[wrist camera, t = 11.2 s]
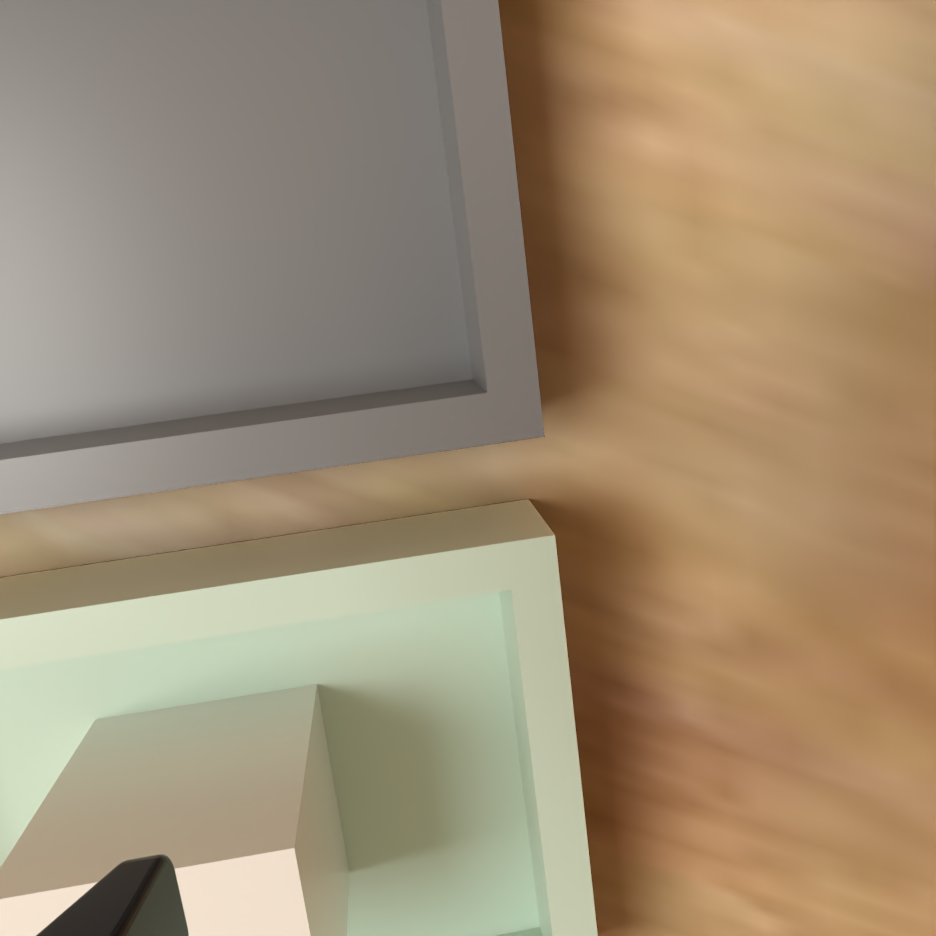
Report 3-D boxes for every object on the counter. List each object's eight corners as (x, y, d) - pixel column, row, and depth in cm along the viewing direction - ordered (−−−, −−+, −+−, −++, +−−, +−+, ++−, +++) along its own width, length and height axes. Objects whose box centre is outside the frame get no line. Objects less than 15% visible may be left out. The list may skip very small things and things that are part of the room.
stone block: (317, 684, 20) (294, 848, 14) (349, 872, 21) (340, 1097, 15) (95, 719, 20) (-23, 902, 14) (140, 909, 21) (48, 1154, 15)
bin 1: (451, -183, 17) (468, -280, 14) (519, 414, 20) (544, 437, 17) (-413, -110, 16) (-590, -199, 13) (-220, 518, 18) (-331, 561, 16)
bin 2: (528, 498, 20) (555, 534, 17) (577, 939, 23) (608, 1035, 20) (-193, 606, 19) (-296, 664, 16) (-54, 1058, 21) (-121, 1180, 19)
